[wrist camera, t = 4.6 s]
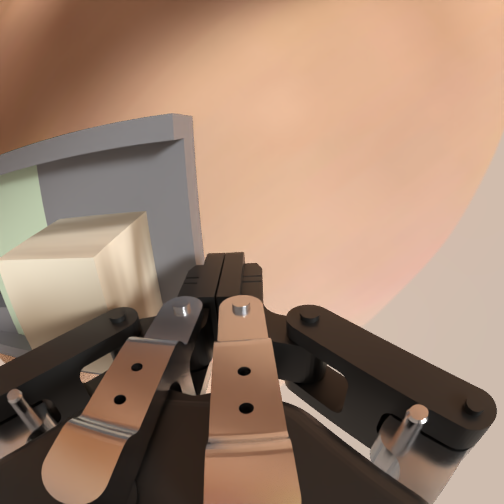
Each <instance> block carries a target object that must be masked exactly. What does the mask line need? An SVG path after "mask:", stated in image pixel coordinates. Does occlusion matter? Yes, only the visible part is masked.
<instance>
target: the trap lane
mask: <svg viewBox="0 0 504 504" xmlns="http://www.w3.org/2000/svg"><path fill="white" fill-rule="evenodd" d="M140 211H146V213H147V220H148V226H149V233H150V239H151V245H152V251H153V257H154V262H155V268H156V273H157V278H158V283H159V288H160V293H161V298H162V303H163V304H164V303H165V302H167V301H169V300H171V299H173V298H176V297H177V296H178V294H179V291H180V289H181V287H182V284H183V282H184V280H185V279H186V275H187V273H188V271H189V270H190V269H192V268H193V267H194V266H195V265H204V262H205V261H204V252H203V243H202V233H201V223H200V213H199V202H198V191H197V179H196V166H195V152H194V137H193V121H192V116H188V115H181V114H173V113H171V114H164V115H157V116H150V117H144V118H138V119H132V120H127V121H121V122H116V123H111V124H106V125H102V126H97V127H93V128H88V129H84V130H80V131H76V132H72V133H68V134H64V135H61V136H57V137H53V138H50V139H47V140H43V141H40V142H37V143H33V144H30V145H27V146H24V147H21V148H18V149H15V150H12V151H10V152H7V153H4V154H1V155H0V257H2V256H3V255H4V254H6V253H7V252H9V251H10V250H12V249H13V248H15V247H16V246H18V245H19V244H21V243H22V242H24V241H25V240H27V239H28V238H30V237H31V236H33V235H34V234H36V233H38V232H39V231H41V230H42V229H44V228H46V227H47V226H49V225H51V224H52V223H54V222H56V221H57V220H59V219H64V218H74V217H83V216H93V215H104V214H115V213H127V212H140ZM31 350H32V348H31V346H30V344H29V342H28V340H27V338H26V336H25V334H24V332H23V329H22V327H21V325H20V323H19V321H18V318H17V316H16V314H15V311H14V309H13V306H12V304H11V301H10V299H9V296H8V294H7V291H6V288H5V285H4V283H3V280H2V277H1V274H0V353H1V354H5V355H9V356H12V357H16V358H17V357H19V356H21V355H23V354H25V353H27V352H29V351H31ZM212 358H213V357H212ZM81 372H86V373H92V374H99V375H100V374H101V373H94V372H88V371H82V370H81Z"/></svg>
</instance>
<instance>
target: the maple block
mask: <svg viewBox="0 0 504 504" xmlns="http://www.w3.org/2000/svg"><path fill="white" fill-rule="evenodd" d="M0 274H1V277H2V280H3V283H4V285H5V288H6V291H7V294H8V296H9V299H10V301H11V304H12V306H13V309H14V311H15V314H16V316H17V318H18V321H19V323H20V325H21V327H22V329H23V332H24V334H25V336H26V338H27V340H28V342H29V344H30V346H31V348H32V350H33V349H35V348H37V347H39V346H41V345H43V344H44V343H46V342H48V341H50V340H52V339H54V338H56V337H58V336H60V335H62V334H64V333H66V332H68V331H70V330H72V329H74V328H76V327H78V326H80V325H82V324H84V323H86V322H88V321H90V320H92V319H94V318H96V317H97V316H99V315H101V314H103V313H105V312H107V311H109V310H112V309H115V308H119V307H130V308H133V309H135V310H136V311H137V313H138V316H139V319H142V318H148V317H153V316H156V315H157V314H158V312H159V310H160V309H161V307H162V306H163V303H162V298H161V293H160V288H159V283H158V278H157V273H156V268H155V262H154V257H153V251H152V245H151V239H150V233H149V226H148V220H147V213H146V211H140V212H127V213H115V214H104V215H93V216H83V217H74V218H64V219H59V220H57V221H56V222H54V223H52V224H51V225H49V226H47V227H46V228H44V229H42V230H41V231H39V232H38V233H36V234H34V235H33V236H31V237H30V238H28V239H27V240H25V241H24V242H22V243H21V244H19V245H18V246H16V247H15V248H13V249H12V250H10V251H9V252H7V253H6V254H4V255H3V256H2V257H0ZM112 362H113V358H112V356H111V353H108V354H107V355H105V356H103V357H101V358H100V359H98V360H96V361H94V362H92V363H91V364H89V365H87V366H85V367H84V368H83V369H82V371H88V372H94V373H101V374H102V373H104V372H105V371H107V370H108V369H109V367H110V366H111V364H112Z"/></svg>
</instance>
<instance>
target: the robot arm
mask: <svg viewBox="0 0 504 504" xmlns="http://www.w3.org/2000/svg"><path fill="white" fill-rule="evenodd" d="M108 353H111V356H112V358H113V362H112V364H111V366H110V367H109V369H108V370H107V371H105V372H104V373H102V374H100V375H99V376H97V377H95V378H93V379H92V380H90V381H88V382H86V383H82V382H81V380H80V372H81V370H82V369H83V368H84V367H85V366H87V365H89V364H91V363H92V362H94V361H96V360H98V359H100V358H101V357H103V356H105V355H107V354H108ZM212 357H213V362H212ZM327 364H328V365H329V366H331V367H333V368H334V369H336V370H338V371H339V372H340V373H342V374H343V375H344V376H342V375H341V374H339V373H337V372H336V371H334V370H333V369H331V368H330V367H328V366H327ZM211 372H212V379H211V393H209V394H206V390H207V387H208V383H209V379H210V376H211ZM278 379H281V380H285V384H286V386H287V387H288V389H289V390H291V391H292V392H293V393H294V394H296V395H297V396H298V397H300V398H301V399H302V400H304V401H305V402H306V403H307V404H309V405H310V406H311V407H313V408H314V409H315V410H317V411H318V412H319V413H321V414H322V415H323V416H325V417H326V418H327V419H329V420H330V421H332V422H333V423H334V424H336V425H337V426H338V427H340V428H341V429H342V430H344V431H345V432H347V433H348V434H350V435H351V436H353V437H354V438H355V439H357V440H358V441H360V442H361V443H363V444H364V445H365V446H367V447H368V448H370V449H371V450H370V459H371V461H369V460H368V459H367V458H365V457H364V456H362V455H361V454H360V453H359V452H357V451H356V450H354V449H353V448H352V447H351V446H349V445H348V444H347V443H345V442H344V441H343V440H342V439H340V438H339V437H338V436H337V435H335V434H334V433H333V432H332V431H330V430H329V429H327V427H325V426H324V425H323V424H322V423H320V422H319V421H318V420H317V419H315V418H314V417H313V416H312V415H310V414H309V413H307V412H306V411H304V410H303V409H301V408H298V407H296V406H294V405H292V404H289V403H286V402H282V397H281V392H280V386H279V380H278ZM496 414H497V408H496V404H495V402H494V400H493V398H492V397H491V396H490V395H489V394H488V393H487V392H485V391H484V390H482V389H480V388H478V387H476V386H474V385H472V384H470V383H468V382H466V381H464V380H462V379H460V378H458V377H456V376H454V375H452V374H450V373H448V372H446V371H444V370H442V369H440V368H438V367H436V366H434V365H432V364H430V363H428V362H426V361H425V360H423V359H421V358H419V357H417V356H415V355H413V354H411V353H409V352H407V351H405V350H403V349H401V348H399V347H397V346H395V345H393V344H392V343H390V342H388V341H386V340H384V339H382V338H380V337H378V336H376V335H374V334H372V333H370V332H369V331H367V330H365V329H363V328H361V327H359V326H357V325H355V324H353V323H351V322H350V321H348V320H346V319H344V318H342V317H340V316H338V315H336V314H334V313H333V312H331V311H329V310H327V309H325V308H323V307H320V306H316V305H302V306H298V307H295V308H293V309H291V310H290V311H289V312H288V314H287V316H284V315H279V314H275V313H273V312H271V311H269V310H268V309H266V308H265V306H264V304H263V282H262V268H261V267H260V266H259V265H258V264H257V263H247V264H245V257H244V252H235V253H226V254H225V253H209V254H207V257H206V260H205V262H204V265H195V266H194V267H193V268H192V269H190V270H189V271H188V273H187V275H186V279H185V280H184V282H183V284H182V287H181V289H180V291H179V294H178V296H177V297H176V298H173V299H171V300H169V301H167V302H165V303H164V304H163V306H162V307H161V309H160V310H159V312H158V314H157V315H156V316H153V317H148V318H142V319H139V316H138V313H137V311H136V310H135V309H133V308H130V307H119V308H115V309H112V310H109V311H107V312H105V313H103V314H101V315H99V316H97V317H96V318H94V319H92V320H90V321H88V322H86V323H84V324H82V325H80V326H78V327H76V328H74V329H72V330H70V331H68V332H66V333H64V334H62V335H60V336H58V337H56V338H54V339H52V340H50V341H48V342H46V343H44V344H43V345H41V346H39V347H37V348H35V349H33V350H31V351H29V352H27V353H25V354H23V355H21V356H19V357H17V358H15V359H14V360H12V361H10V362H8V363H6V364H4V365H2V366H0V504H433V503H434V501H435V500H436V499H437V497H438V496H439V494H440V493H441V492H442V490H443V489H444V487H445V486H446V484H447V483H448V481H449V479H450V478H451V476H452V475H453V473H454V472H455V470H456V468H457V467H458V465H459V463H460V462H461V460H462V459H463V458H464V457H465V456H466V455H467V454H468V453H469V452H470V450H471V449H472V448H473V447H474V446H475V444H476V443H477V442H478V441H479V440H480V438H481V437H482V436H483V435H484V433H485V432H486V431H487V430H488V428H489V427H490V426H491V424H492V423H493V421H494V420H495V418H496Z"/></svg>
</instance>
